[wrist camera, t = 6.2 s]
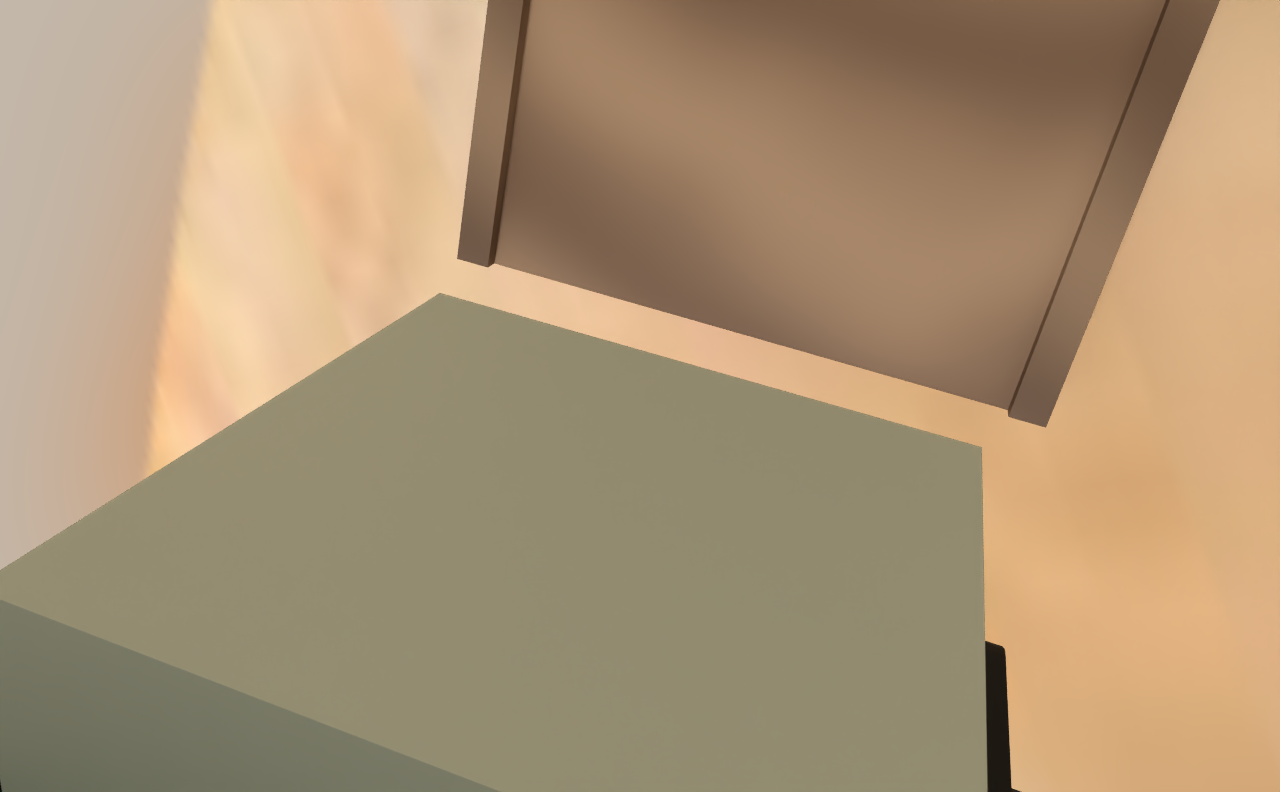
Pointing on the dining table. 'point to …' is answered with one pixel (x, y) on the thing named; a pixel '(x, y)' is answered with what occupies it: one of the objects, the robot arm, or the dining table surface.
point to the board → (834, 168)
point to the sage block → (512, 588)
